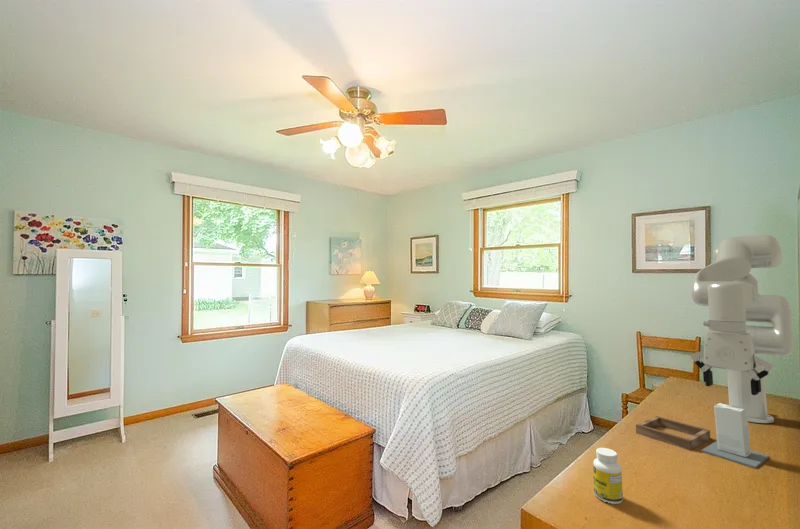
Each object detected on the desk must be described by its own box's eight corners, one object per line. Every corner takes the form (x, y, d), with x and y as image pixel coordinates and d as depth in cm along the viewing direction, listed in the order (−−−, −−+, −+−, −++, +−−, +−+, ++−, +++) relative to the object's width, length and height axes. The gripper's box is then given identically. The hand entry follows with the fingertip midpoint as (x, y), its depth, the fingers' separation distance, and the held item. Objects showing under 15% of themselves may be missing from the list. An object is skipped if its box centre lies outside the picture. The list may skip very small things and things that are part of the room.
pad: (716, 442, 106) (716, 440, 106) (769, 457, 97) (769, 455, 97) (701, 451, 100) (701, 449, 100) (755, 468, 91) (755, 466, 91)
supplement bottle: (588, 491, 81) (587, 446, 82) (611, 490, 82) (610, 445, 82) (604, 506, 76) (602, 457, 77) (628, 504, 76) (627, 456, 77)
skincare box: (751, 454, 97) (748, 408, 98) (745, 458, 95) (743, 411, 96) (721, 445, 103) (719, 402, 103) (716, 449, 100) (713, 405, 101)
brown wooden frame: (657, 423, 120) (657, 416, 120) (710, 438, 108) (709, 430, 109) (636, 433, 113) (635, 424, 113) (690, 450, 101) (690, 441, 101)
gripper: (684, 325, 106) (687, 384, 105) (766, 331, 91) (771, 400, 90) (695, 323, 110) (698, 380, 109) (775, 329, 95) (779, 395, 94)
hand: (731, 389), depth 100 cm, fingers open, 9 cm apart
